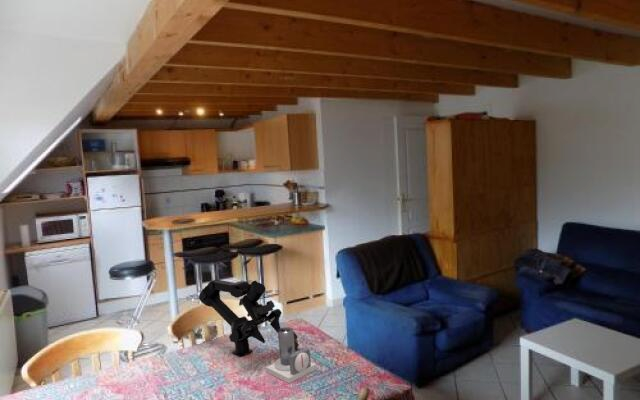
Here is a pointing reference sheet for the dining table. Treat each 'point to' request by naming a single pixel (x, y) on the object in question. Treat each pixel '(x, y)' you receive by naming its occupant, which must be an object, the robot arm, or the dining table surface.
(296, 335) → the dark brown lobed figurine
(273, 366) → the dial scale
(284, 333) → the cylinder
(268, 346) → the dining table surface
